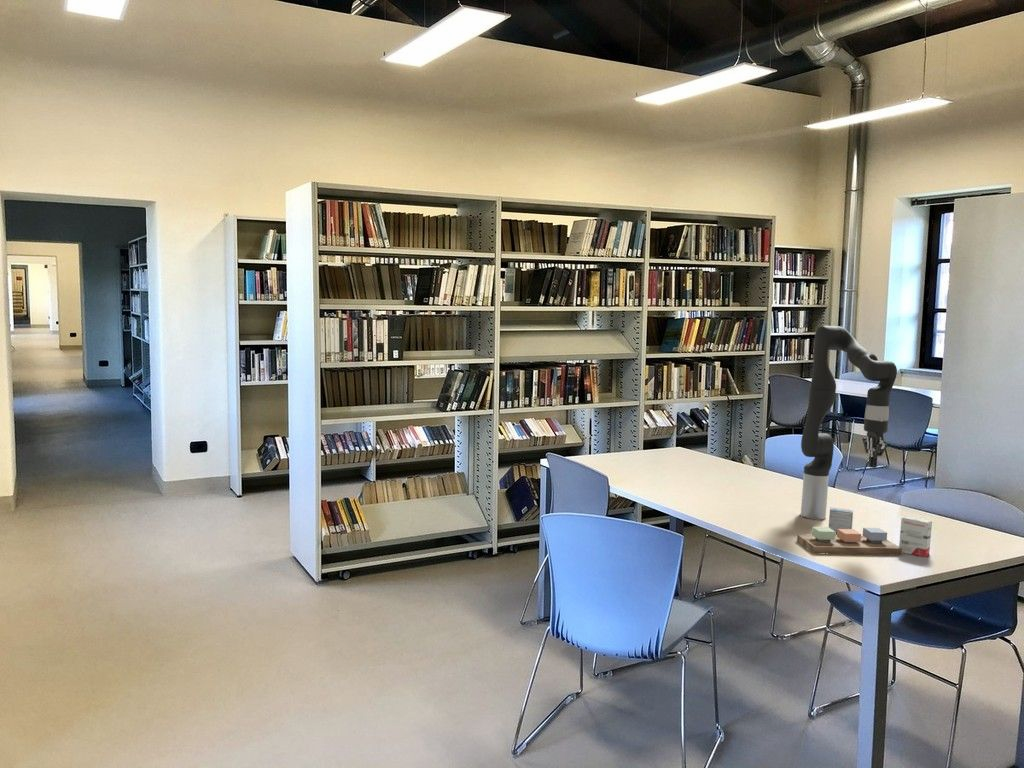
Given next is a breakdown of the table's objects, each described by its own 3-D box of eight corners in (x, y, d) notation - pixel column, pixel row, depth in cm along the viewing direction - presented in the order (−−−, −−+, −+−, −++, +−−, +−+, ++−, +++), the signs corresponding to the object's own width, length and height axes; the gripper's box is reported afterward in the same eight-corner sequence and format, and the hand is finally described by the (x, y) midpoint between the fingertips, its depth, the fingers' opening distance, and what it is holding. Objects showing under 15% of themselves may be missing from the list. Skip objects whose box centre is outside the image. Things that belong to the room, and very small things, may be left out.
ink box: (929, 554, 267) (932, 520, 266) (925, 557, 263) (928, 522, 262) (902, 548, 273) (905, 515, 272) (898, 551, 269) (901, 517, 268)
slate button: (862, 535, 274) (863, 527, 273) (878, 535, 274) (878, 527, 274) (870, 540, 268) (871, 532, 268) (886, 540, 268) (887, 532, 268)
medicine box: (851, 532, 291) (853, 509, 290) (851, 535, 287) (853, 512, 286) (828, 529, 294) (830, 506, 293) (828, 532, 290) (829, 509, 289)
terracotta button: (836, 536, 273) (837, 528, 273) (852, 537, 274) (853, 529, 273) (844, 541, 268) (845, 533, 268) (860, 542, 268) (861, 533, 268)
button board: (796, 541, 277) (797, 529, 277) (880, 542, 279) (881, 531, 278) (813, 553, 263) (814, 541, 263) (901, 555, 265) (902, 543, 264)
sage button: (811, 534, 273) (812, 526, 273) (827, 534, 273) (828, 526, 273) (818, 539, 267) (819, 531, 267) (834, 539, 268) (835, 531, 267)
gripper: (856, 415, 280) (853, 463, 282) (875, 420, 267) (871, 471, 269) (877, 415, 281) (873, 463, 282) (897, 421, 268) (892, 471, 269)
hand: (872, 467), depth 276 cm, fingers closed
